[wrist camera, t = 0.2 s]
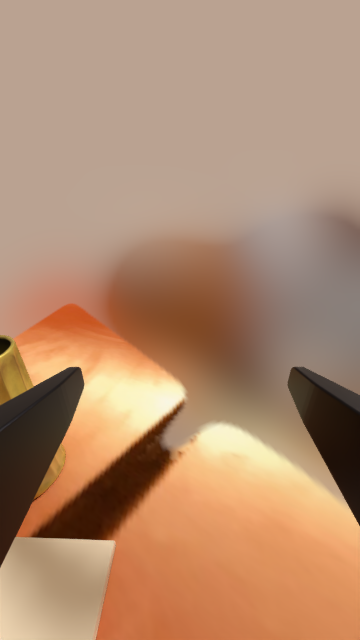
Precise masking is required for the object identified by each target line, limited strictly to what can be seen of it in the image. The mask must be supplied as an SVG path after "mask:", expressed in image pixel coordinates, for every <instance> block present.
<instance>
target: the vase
mask: <svg viewBox="0 0 360 640" xmlns="http://www.w3.org/2000/svg"><path fill="white" fill-rule="evenodd" d="M32 387H34V386H33V384H32V381H31V379H30V377H29V374H28V372H27V370H26V367H25V365H24V362H23V360H22V357H21V355H20V352H19V350H18V348H17V345H16V343H15V341H14V340H13V339H12V338H11V337H9V336H5V335H0V405H1V404H3V403H5V402H7V401H9V400H10V399H12V398H14V397H16V396H18V395H20V394H21V393H23V392H25V391H27V390H29V389H31V388H32ZM65 457H66V454H65V449H64V447H63V445H62V444H60V446H59V448H58V450H57V453H56V455H55V457H54V459H53V461H52V463H51V465H50V467H49V469H48V471H47V473H46V475H45V477H44V479H43V481H42V483H41V485H40V487H39V490H38V492H37V494H36V496H35V498H34V499H36V498H37V497H39V496H40V495H41V494H43V493H44V492H45V491H46V490H47V489H48V488H49V487H50V486H51V485H52V484H53V483H54V481H55V480H56V479H57V477H58V476H59V474H60V472H61V470H62V468H63V466H64V463H65Z"/></svg>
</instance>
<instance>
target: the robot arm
mask: <svg viewBox="0 0 360 640" xmlns="http://www.w3.org/2000/svg"><path fill="white" fill-rule="evenodd" d="M288 388H289V391H290V393H291V395H292V398H293V400H294V402H295V405H296V407H297V409H298V412H299V414H300V417H301V419H302V421H303V423H304V425H305V427H306V428H307V430H308V432H309V434H310V436H311V438H312V439H313V441H314V443H315V445H316V447H317V449H318V451H319V452H320V454H321V456H322V458H323V460H324V462H325V463H326V465H327V467H328V469H329V471H330V473H331V474H332V476H333V478H334V480H335V482H336V484H337V485H338V487H339V489H340V491H341V493H342V494H343V496H344V498H345V500H346V502H347V504H348V506H349V507H350V509H351V511H352V513H353V515H354V517H355V518H356V520H357V522H358V524H359V526H360V395H358V394H356V393H354V392H352V391H350V390H348V389H346V388H344V387H342V386H340V385H338V384H336V383H334V382H332V381H330V380H328V379H326V378H324V377H322V376H320V375H318V374H316V373H314V372H312V371H310V370H308V369H306V368H304V367H293V368H292V369H291V372H290V376H289V380H288ZM83 389H84V380H83V375H82V371H81V368H79V367H69V368H67V369H65V370H63V371H62V372H60V373H58V374H56V375H54V376H52V377H51V378H49V379H47V380H45V381H43V382H41V383H40V384H38V385H36V386H34V387H32V388H31V389H29V390H27V391H25V392H23V393H21V394H20V395H18V396H16V397H14V398H12V399H10V400H9V401H7V402H5V403H3V404H1V405H0V568H1V566H2V563H3V561H4V559H5V557H6V555H7V553H8V551H9V549H10V547H11V545H12V543H13V541H14V539H15V537H16V535H17V533H18V531H19V529H20V526H21V524H22V522H23V520H24V518H25V516H26V514H27V512H28V510H29V508H30V506H31V504H32V502H33V500H34V498H35V496H36V494H37V492H38V490H39V487H40V485H41V483H42V481H43V479H44V477H45V475H46V473H47V471H48V469H49V467H50V465H51V463H52V461H53V459H54V457H55V455H56V453H57V450H58V448H59V446H60V444H61V442H62V440H63V438H64V436H65V434H66V432H67V430H68V428H69V426H70V423H71V421H72V419H73V416H74V413H75V411H76V408H77V405H78V402H79V400H80V397H81V394H82V391H83Z"/></svg>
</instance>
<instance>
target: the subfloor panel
mask: <svg viewBox="0 0 360 640" xmlns="http://www.w3.org/2000/svg"><path fill="white" fill-rule="evenodd" d="M115 547H116V544H115V541H107V540H80V539H53V538H27V537H15V539H14V541H13V543H12V545H11V547H10V549H9V551H8V553H7V555H6V557H5V559H4V561H3V563H2V566H1V568H0V640H96V635H97V631H98V626H99V621H100V617H101V612H102V607H103V603H104V598H105V593H106V589H107V584H108V579H109V575H110V570H111V565H112V561H113V556H114V551H115Z"/></svg>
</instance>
